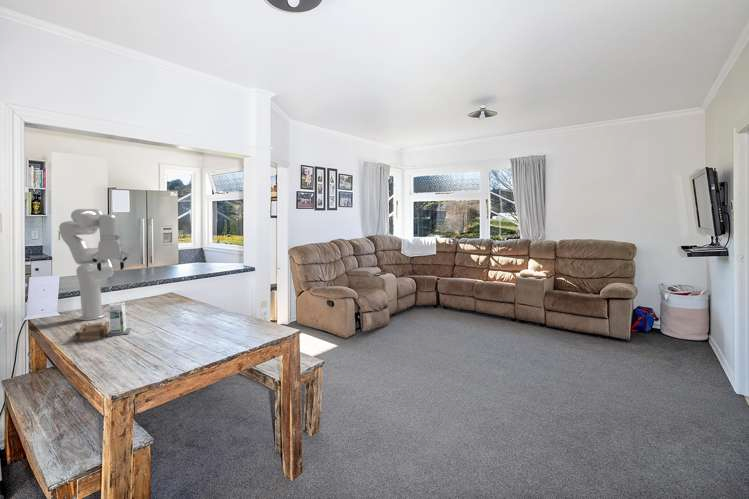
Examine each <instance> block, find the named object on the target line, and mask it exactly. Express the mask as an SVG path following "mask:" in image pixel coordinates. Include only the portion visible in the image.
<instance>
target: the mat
mask: <svg viewBox="0 0 749 499" xmlns="http://www.w3.org/2000/svg"><path fill="white" fill-rule="evenodd" d="M131 329H132V327H126V330H125V331H124V332H122V333H110V330H109V331H108V332H107V334H106V335H107V336H106V337H117V336H125V335H129V334H130V333H131Z"/></svg>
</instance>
